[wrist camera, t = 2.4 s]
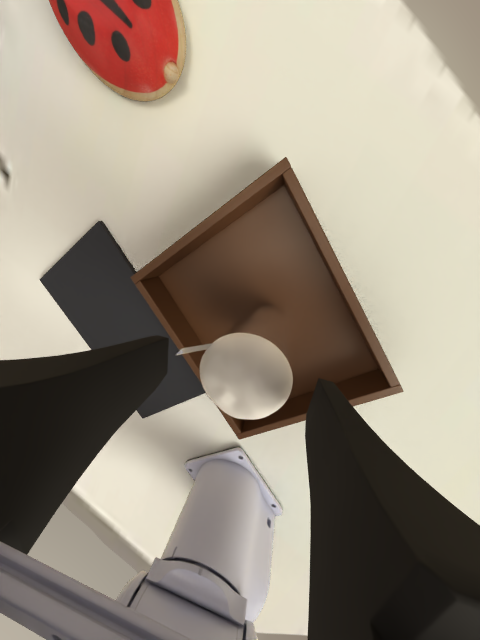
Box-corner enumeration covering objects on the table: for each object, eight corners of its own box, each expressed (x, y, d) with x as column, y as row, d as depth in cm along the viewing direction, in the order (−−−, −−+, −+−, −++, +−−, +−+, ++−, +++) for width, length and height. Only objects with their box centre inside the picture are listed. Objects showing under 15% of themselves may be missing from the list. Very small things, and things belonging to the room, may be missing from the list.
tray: (387, 369, 17) (404, 391, 15) (246, 416, 22) (239, 440, 20) (288, 172, 15) (286, 156, 12) (152, 272, 20) (129, 277, 17)
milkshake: (258, 276, 17) (212, 313, 8) (307, 325, 17) (317, 416, 8) (221, 314, 19) (148, 382, 10) (265, 358, 19) (236, 464, 10)
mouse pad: (213, 388, 22) (211, 390, 22) (144, 416, 26) (142, 418, 25) (102, 221, 19) (98, 220, 19) (43, 279, 23) (39, 279, 23)
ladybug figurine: (91, -94, 13) (23, -206, 10) (218, 24, 13) (192, -47, 10) (57, 40, 16) (-6, -14, 12) (163, 136, 16) (129, 108, 13)
